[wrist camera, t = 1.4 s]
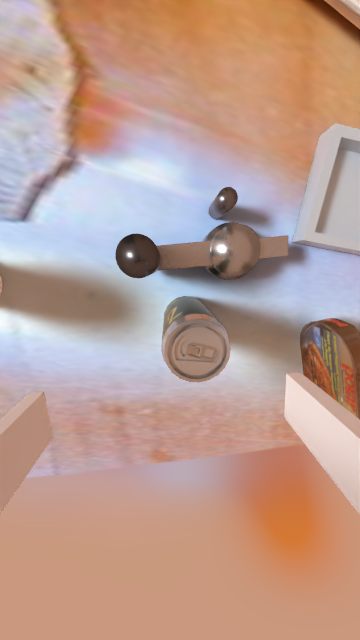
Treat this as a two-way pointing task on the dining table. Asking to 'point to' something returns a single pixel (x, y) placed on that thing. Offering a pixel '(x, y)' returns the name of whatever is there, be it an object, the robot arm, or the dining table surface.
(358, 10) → the square plate
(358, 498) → the robot arm
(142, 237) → the crank
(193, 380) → the beer can
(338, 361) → the tin
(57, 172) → the dining table surface
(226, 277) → the base
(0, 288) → the beer glass
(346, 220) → the tray
